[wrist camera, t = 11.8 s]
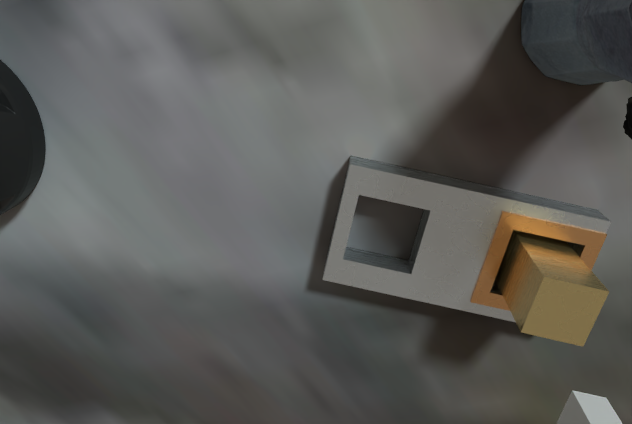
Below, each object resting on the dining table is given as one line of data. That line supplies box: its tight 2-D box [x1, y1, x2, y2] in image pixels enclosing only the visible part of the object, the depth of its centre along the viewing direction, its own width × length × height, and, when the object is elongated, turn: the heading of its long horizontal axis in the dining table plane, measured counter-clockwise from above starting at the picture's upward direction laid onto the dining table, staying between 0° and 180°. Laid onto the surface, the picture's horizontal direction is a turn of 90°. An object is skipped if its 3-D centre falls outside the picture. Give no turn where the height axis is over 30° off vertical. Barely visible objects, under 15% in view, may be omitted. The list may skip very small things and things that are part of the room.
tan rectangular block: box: [495, 230, 609, 346], centre depth 41 cm, size 4×4×9 cm
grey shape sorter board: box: [323, 156, 611, 322], centre depth 43 cm, size 20×10×3 cm, turn 78°
